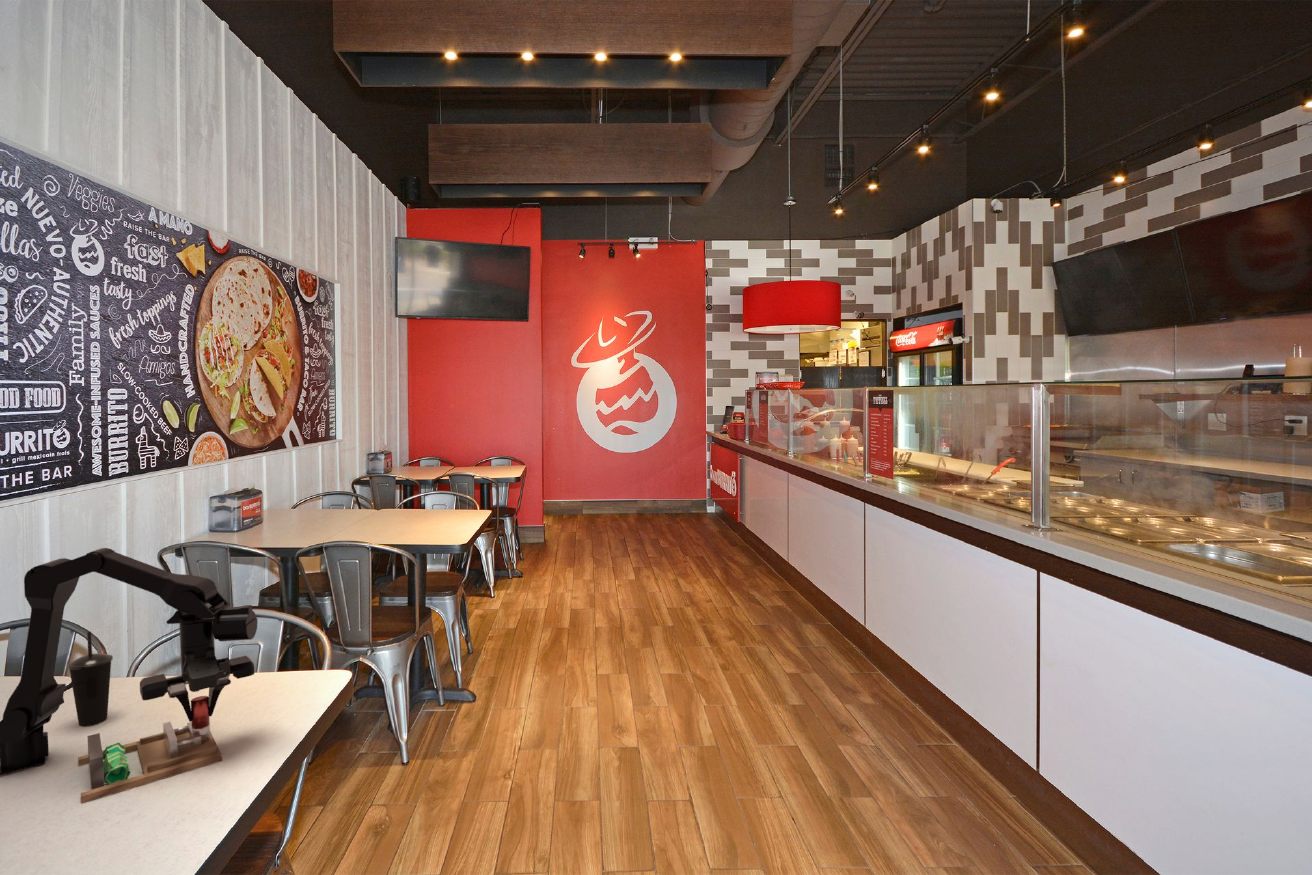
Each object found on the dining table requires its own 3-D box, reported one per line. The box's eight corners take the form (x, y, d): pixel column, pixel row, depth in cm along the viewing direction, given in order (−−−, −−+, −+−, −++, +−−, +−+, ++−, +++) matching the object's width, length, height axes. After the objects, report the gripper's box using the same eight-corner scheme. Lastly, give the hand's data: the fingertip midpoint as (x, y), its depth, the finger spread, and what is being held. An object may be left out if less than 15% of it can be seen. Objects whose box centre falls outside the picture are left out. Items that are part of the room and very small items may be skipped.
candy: (135, 775, 126) (118, 762, 124) (116, 791, 124) (99, 778, 122) (130, 751, 134) (114, 738, 133) (112, 766, 133) (96, 753, 131)
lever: (170, 759, 130) (168, 715, 129) (163, 740, 137) (162, 699, 137) (214, 746, 135) (212, 704, 134) (205, 728, 142) (204, 689, 142)
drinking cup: (124, 714, 153) (120, 626, 152) (93, 730, 145) (88, 638, 144) (93, 712, 153) (89, 625, 152) (60, 728, 146) (56, 637, 145)
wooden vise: (81, 803, 118) (79, 769, 118) (78, 763, 132) (76, 732, 131) (222, 760, 132) (221, 730, 132) (206, 728, 146) (205, 700, 145)
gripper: (143, 665, 124) (147, 748, 125) (259, 641, 137) (261, 717, 137) (137, 649, 132) (141, 727, 133) (247, 628, 145) (249, 699, 146)
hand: (200, 718), depth 137 cm, fingers closed on lever, 3 cm apart
